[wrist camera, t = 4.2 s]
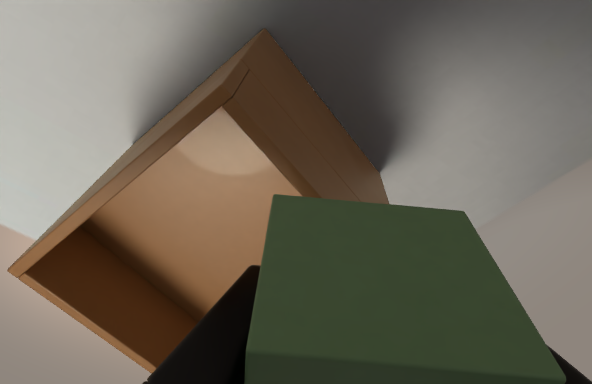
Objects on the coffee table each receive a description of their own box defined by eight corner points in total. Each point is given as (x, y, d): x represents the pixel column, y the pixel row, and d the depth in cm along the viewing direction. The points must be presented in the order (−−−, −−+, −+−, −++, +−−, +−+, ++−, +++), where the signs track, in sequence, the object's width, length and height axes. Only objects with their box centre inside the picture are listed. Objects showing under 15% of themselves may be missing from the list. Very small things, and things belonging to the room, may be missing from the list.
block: (464, 210, 8) (569, 378, 5) (420, 343, 10) (475, 532, 7) (273, 193, 8) (245, 350, 5) (264, 329, 10) (239, 513, 7)
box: (380, 174, 22) (425, 315, 13) (250, 259, 25) (215, 419, 16) (264, 27, 18) (221, 83, 10) (131, 146, 21) (5, 271, 13)
